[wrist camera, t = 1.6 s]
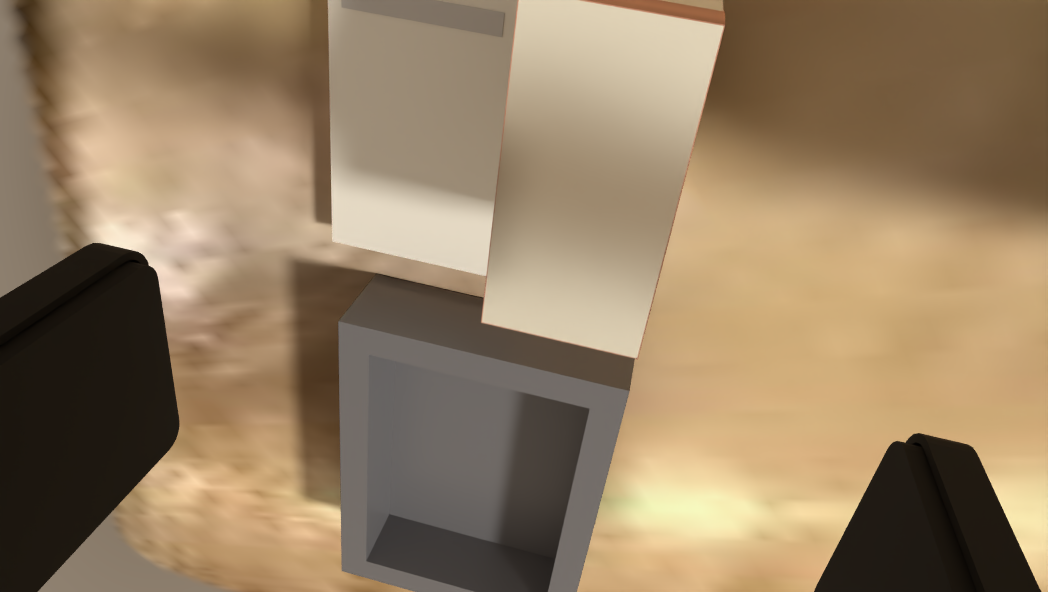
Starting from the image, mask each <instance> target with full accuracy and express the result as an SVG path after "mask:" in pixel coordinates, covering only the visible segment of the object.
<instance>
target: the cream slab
mask: <svg viewBox="0 0 1048 592" xmlns="http://www.w3.org/2000/svg"><path fill="white" fill-rule="evenodd" d="M517 1H518V0H328V34H329V89H330V144H331V199H332V241H333V242H337V243H342V244H346V245H350V246H355V247H359V248H364V249H368V250H373V251H377V252H381V253H386V254H390V255H395V256H399V257H403V258H408V259H412V260H417V261H421V262H426V263H430V264H434V265H439V266H443V267H448V268H452V269H457V270H461V271H465V272H470V273H474V274H479V275H483V276H486V274H487V265H488V257H489V248H490V239H491V230H492V221H493V212H494V204H495V195H496V186H497V177H498V168H499V160H500V151H501V142H502V133H503V124H504V116H505V107H506V98H507V89H508V80H509V71H510V63H511V54H512V45H513V36H514V27H515V19H516V10H517Z"/></svg>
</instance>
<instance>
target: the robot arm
mask: <svg viewBox="0 0 1048 592" xmlns="http://www.w3.org/2000/svg"><path fill="white" fill-rule="evenodd" d="M178 431H179V415H178V409H177V402H176V395H175V389H174V382H173V375H172V368H171V362H170V355H169V348H168V342H167V335H166V328H165V321H164V315H163V308H162V301H161V294H160V288H159V281H158V276H157V273H156V271H155V270H154V268H152V267H150V266H149V265H148V261H147V260H146V258H145V257H144V255H142V254H141V253H139V252H136V251H132V250H128V249H123V248H119V247H115V246H110V245H106V244H102V243H92V244H90V245H87V246H85V247H83V248H82V249H80V250H79V251H77V252H75V253H74V254H72V255H70V256H69V257H67V258H65V259H64V260H62V261H60V262H59V263H57V264H55V265H54V266H52V267H50V268H49V269H47V270H46V271H44V272H42V273H41V274H39V275H37V276H35V277H34V278H32V279H31V280H29V281H27V282H26V283H24V284H22V285H21V286H19V287H17V288H16V289H14V290H12V291H11V292H9V293H7V294H6V295H4V296H2V297H1V298H0V592H38V591H39V589H40V588H41V587H42V586H43V585H44V584H45V583H46V582H47V581H48V580H49V579H50V578H51V577H52V575H53V574H54V573H55V572H56V571H57V570H58V569H59V568H60V567H61V566H62V565H63V564H64V563H65V561H66V560H67V559H68V558H69V557H70V556H71V555H72V554H73V553H74V552H75V551H76V550H77V549H78V547H79V546H80V545H81V544H82V543H83V542H84V541H85V540H86V539H87V537H89V536H90V535H91V534H92V532H93V531H94V530H95V529H96V528H97V527H98V526H99V525H100V524H101V523H102V522H103V521H104V520H105V518H106V517H107V516H108V515H109V514H110V513H111V512H112V511H113V510H114V509H115V508H116V507H117V506H118V504H119V503H120V502H121V501H122V500H123V499H124V498H125V497H126V496H127V495H128V494H129V493H130V492H131V490H132V489H133V488H134V487H135V486H136V485H137V484H138V483H139V482H140V481H141V480H142V479H143V478H144V476H145V475H146V474H147V473H148V472H149V471H150V470H151V469H152V468H153V467H154V466H155V465H156V464H157V462H158V461H159V460H160V459H161V458H162V457H163V456H164V455H165V454H166V453H167V452H168V451H169V449H170V448H171V447H172V445H173V444H174V442H175V440H176V437H177V435H178ZM814 592H1041V590H1040V589H1039V586H1038V584H1037V582H1036V580H1035V578H1034V576H1033V573H1032V571H1031V569H1030V567H1029V565H1028V563H1027V560H1026V558H1025V556H1024V554H1023V552H1022V550H1021V548H1020V545H1019V543H1018V541H1017V539H1016V537H1015V535H1014V532H1013V530H1012V528H1011V526H1010V524H1009V522H1008V519H1007V517H1006V515H1005V513H1004V511H1003V509H1002V506H1001V504H1000V502H999V500H998V498H997V496H996V494H995V491H994V489H993V487H992V485H991V483H990V481H989V478H988V476H987V474H986V472H985V470H984V468H983V465H982V463H981V461H980V459H979V457H978V455H977V453H976V451H975V450H974V449H973V447H971V446H969V445H967V444H963V443H959V442H955V441H950V440H946V439H942V438H938V437H933V436H929V435H925V434H920V433H917V434H913V435H912V436H911V437H910V438H909V439H908V440H907V441H906V443H904V442H900V441H896V442H893V443H892V444H891V445H890V446H889V448H888V449H887V451H886V453H885V455H884V457H883V459H882V461H881V463H880V465H879V467H878V468H877V470H876V472H875V474H874V476H873V478H872V480H871V482H870V484H869V486H868V488H867V490H866V492H865V493H864V495H863V497H862V499H861V501H860V503H859V505H858V507H857V509H856V511H855V513H854V515H853V517H852V519H851V520H850V522H849V524H848V526H847V528H846V530H845V532H844V534H843V536H842V538H841V540H840V542H839V544H838V545H837V547H836V549H835V551H834V553H833V555H832V557H831V559H830V561H829V563H828V565H827V567H826V569H825V570H824V572H823V574H822V576H821V578H820V580H819V582H818V584H817V586H816V588H815V591H814Z"/></svg>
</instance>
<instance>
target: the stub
mask: <svg viewBox="0 0 1048 592" xmlns="http://www.w3.org/2000/svg"><path fill="white" fill-rule="evenodd" d="M724 28H725V12H724V11H723V0H518V1H517V10H516V19H515V27H514V36H513V45H512V54H511V63H510V71H509V80H508V89H507V98H506V107H505V116H504V124H503V133H502V142H501V151H500V160H499V168H498V177H497V186H496V195H495V204H494V212H493V221H492V230H491V239H490V248H489V257H488V265H487V274H486V283H485V292H484V301H483V309H482V318H481V323H485V324H489V325H493V326H497V327H502V328H506V329H510V330H514V331H519V332H523V333H527V334H532V335H536V336H540V337H544V338H549V339H553V340H557V341H561V342H566V343H570V344H574V345H579V346H583V347H587V348H591V349H596V350H600V351H604V352H608V353H613V354H617V355H621V356H625V357H630V358H634V359H638V356H639V353H640V349H641V345H642V341H643V337H644V334H645V330H646V326H647V322H648V318H649V314H650V311H651V307H652V303H653V299H654V295H655V292H656V288H657V284H658V280H659V276H660V272H661V269H662V265H663V261H664V257H665V253H666V250H667V246H668V242H669V238H670V234H671V231H672V227H673V223H674V219H675V215H676V211H677V208H678V204H679V200H680V196H681V192H682V189H683V185H684V181H685V177H686V173H687V169H688V166H689V162H690V158H691V154H692V150H693V147H694V143H695V139H696V135H697V131H698V128H699V124H700V120H701V116H702V112H703V108H704V105H705V101H706V97H707V93H708V89H709V86H710V82H711V78H712V74H713V70H714V66H715V63H716V59H717V55H718V51H719V47H720V44H721V40H722V36H723V32H724Z"/></svg>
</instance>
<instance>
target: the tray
mask: <svg viewBox="0 0 1048 592" xmlns="http://www.w3.org/2000/svg"><path fill="white" fill-rule="evenodd" d="M483 301H484V299H483V298H479V297H475V296H470V295H466V294H462V293H457V292H453V291H449V290H444V289H440V288H436V287H431V286H427V285H423V284H418V283H414V282H410V281H405V280H401V279H396V278H392V277H388V276H383V275H379V274H376V275H375V276H374V277H373V279H372V280H371V281H370V282H369V284H368V285H367V286H366V287H365V289H364V290H363V291H362V292H361V294H360V295H359V296H358V297H357V299H356V300H355V301H354V302H353V304H352V305H351V306H350V307H349V309H348V310H347V311H346V312H345V314H344V315H343V316H342V317H341V319H340V320H339V321H338V334H339V405H340V476H341V548H342V571H344V572H347V573H351V574H355V575H358V576H362V577H365V578H369V579H372V580H376V581H379V582H383V583H386V584H390V585H393V586H397V587H400V588H404V589H408V590H411V591H415V592H577V589H578V585H579V581H580V578H581V574H582V570H583V566H584V562H585V559H586V555H587V551H588V547H589V543H590V540H591V536H592V532H593V528H594V524H595V520H596V517H597V513H598V509H599V505H600V501H601V498H602V494H603V490H604V486H605V482H606V478H607V475H608V471H609V467H610V463H611V459H612V456H613V452H614V448H615V444H616V440H617V437H618V433H619V429H620V425H621V421H622V417H623V414H624V410H625V406H626V402H627V398H628V395H629V391H630V384H631V378H632V372H633V366H634V360H635V359H634V358H630V357H625V356H621V355H617V354H613V353H608V352H604V351H600V350H596V349H591V348H587V347H583V346H579V345H574V344H570V343H566V342H561V341H557V340H553V339H549V338H544V337H540V336H536V335H532V334H527V333H523V332H519V331H514V330H510V329H506V328H502V327H497V326H493V325H489V324H485V323H481V318H482V309H483Z"/></svg>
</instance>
